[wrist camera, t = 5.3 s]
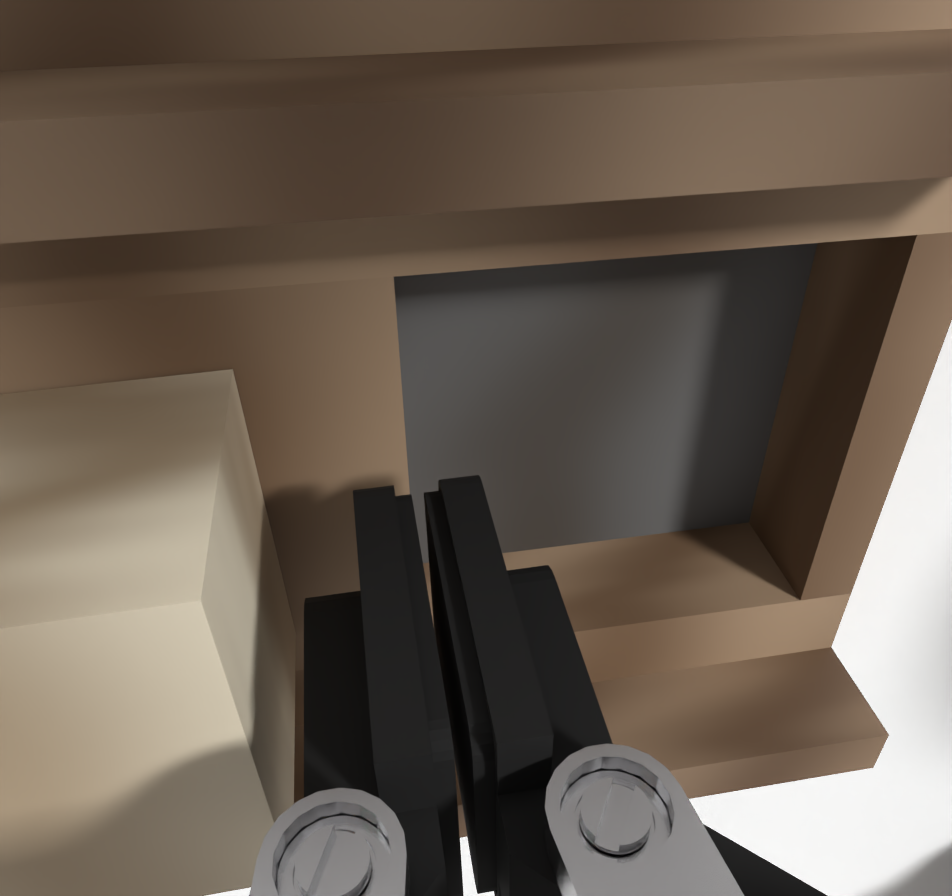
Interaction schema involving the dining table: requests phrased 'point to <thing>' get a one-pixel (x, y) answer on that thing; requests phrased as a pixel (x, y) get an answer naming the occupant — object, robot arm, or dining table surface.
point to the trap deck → (523, 301)
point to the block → (138, 642)
